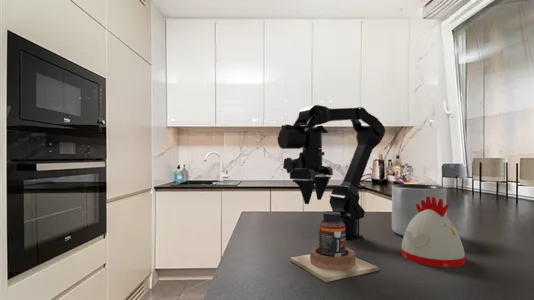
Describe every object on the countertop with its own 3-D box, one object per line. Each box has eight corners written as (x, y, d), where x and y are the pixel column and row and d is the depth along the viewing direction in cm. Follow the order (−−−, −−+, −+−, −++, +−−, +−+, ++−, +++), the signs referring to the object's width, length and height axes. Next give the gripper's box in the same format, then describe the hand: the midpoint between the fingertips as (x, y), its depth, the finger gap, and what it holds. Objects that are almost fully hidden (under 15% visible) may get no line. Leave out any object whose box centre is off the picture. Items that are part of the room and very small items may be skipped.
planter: (456, 242, 89) (455, 188, 90) (398, 239, 92) (397, 188, 93) (436, 229, 105) (435, 184, 105) (387, 227, 108) (386, 183, 108)
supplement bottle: (346, 267, 67) (345, 215, 67) (318, 265, 68) (318, 214, 68) (345, 258, 73) (344, 210, 73) (319, 256, 74) (319, 209, 74)
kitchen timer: (441, 271, 67) (440, 202, 67) (389, 253, 79) (388, 195, 79) (477, 261, 73) (476, 198, 74) (424, 246, 85) (423, 192, 86)
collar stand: (337, 252, 80) (337, 240, 80) (378, 270, 67) (377, 255, 67) (290, 260, 73) (290, 247, 74) (325, 282, 61) (325, 265, 61)
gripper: (300, 149, 102) (301, 196, 102) (272, 149, 86) (273, 204, 86) (332, 148, 97) (333, 198, 96) (309, 148, 81) (310, 207, 80)
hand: (313, 201), depth 90 cm, fingers open, 9 cm apart
